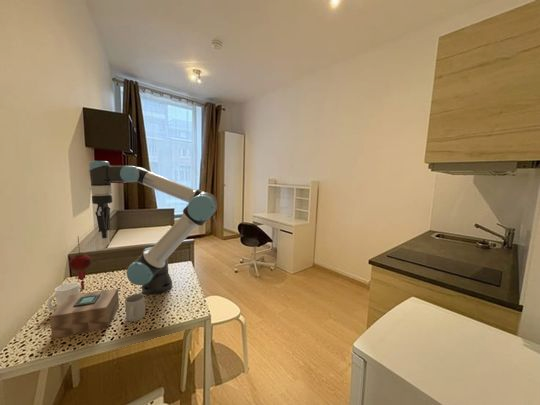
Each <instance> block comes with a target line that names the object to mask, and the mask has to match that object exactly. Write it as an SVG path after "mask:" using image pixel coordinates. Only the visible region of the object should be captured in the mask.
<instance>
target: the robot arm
mask: <svg viewBox="0 0 540 405" xmlns="http://www.w3.org/2000/svg"><path fill="white" fill-rule="evenodd" d="M88 165H89V170H88V171H89V178H90V188H89V190H90V192H91V195H92V196H91V199H92V200H91V203H92V204H94V205H97V207H96V211H95V216H96V221H97V226H98V232H100V237H101V246H102V245H103V246H106V245H110V244H111V242H110V240H111V239H110V231H111V229H112V228H111V207H110V206H109V204H112V203H113V196H112V193H113V192H112V190H113V189H112V183H139V184H140V185H143V186H146V187H147V188H148V187H149V188H151V189H154V190H155V191H159V192H160V193H163V194H166V195H169V196H171V197H173V198H175V199H177V200H181V201H184V202H186V203H188V204H187V205H186V207H184V208H183V209H182V215H181V216H180V218H179V219H177V221H176V222H175V223H174V224H173V225H172V226H171V227H170V228H169V230H167V231H166V232H165V234H164V235H163V236H162V237H161V238H160V239H159V240H158V241H157V242H156V243H155V244H154V246H150V247H146V248H143V252H142V253H141V255H140V256H138V258H136V259H135V261H134V262H131V263H130V264H129V266H128V267H127V269H126V277H127V280H128V281H129V282H130V283H132V284H133V285H136V286H141V292H142V294H143V295H149V296H150V295H151V296H152V295H158V294H161V293H165V292H167V291H169V290H170V289H171V288H172V287H173V279H172V278H171V275H170V273H169V257H170V256H171V255H172V254H173V252H174V251H175V250H176V249H178V247H179V246H180V245H181V244H182V243H183V242H184V241H185V240H186V239H187V238H188V236H190V234H191V233H192V232H193V231H195V229H197V227H202V226H203V225H204V224H205V223H206V222H207V221H208V220H209V219H210V218H211V217H212V216H213V215H214V214H215V213H216V212H217V210H218V208H219V200H218V198H217V196H215V195H214V194H212V193H210V192H206V191H203V190H201V189H197V188H196V189H193V188H191V187H188V186H186V185H183V184H181V183H179V182H176V181H174V180H171V179H169V178H166V177H164V176H162V175H159V174H156V173H155V172H152V171H149V170H147V169H146V168H144V167H141V166H134V165H111V164H110V162H109V161H107V160H91V161H90V162H89V164H88Z"/></svg>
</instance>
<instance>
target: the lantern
mask: <svg viewBox="0 0 540 405" xmlns="http://www.w3.org/2000/svg"><path fill="white" fill-rule="evenodd" d="M79 240H80V239H79V237H77V243H78V244H77V245H80V241H79ZM80 250H81V249H80V248H78V252H77V253H75V255H74V256H72V257H71V259H70V260H69V262H68V266H69V268H70V269H71V270H73V271H76V273H77V280H80V288H81V290H85V282H84V279H86V269H87V268H89V267H90V266H91V264H92V261H93V260H92V258H91V256H90V255H88V254H85V253H84V252H81V251H80Z"/></svg>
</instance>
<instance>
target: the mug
mask: <svg viewBox="0 0 540 405" xmlns="http://www.w3.org/2000/svg"><path fill="white" fill-rule="evenodd" d="M54 290H55V291H54V294H51V296H49V298H48V300H47V302H46V307H47V309H48V310H50V311H55V310H56V309H57V308H58V307H59V306H60V305H61V304H62V303H63V302H64V301H65V300H66V299H67V298H68V297H69V296H70V295H76V294H81V292H80V283H79V282H73V281H72V282H67V283H63V284H61V285H59V286H57V287H55V289H54ZM54 299H55V301H56V302H55V303H56V306H52V302H53V300H54Z"/></svg>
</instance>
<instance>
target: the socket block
mask: <svg viewBox="0 0 540 405" xmlns="http://www.w3.org/2000/svg"><path fill="white" fill-rule="evenodd" d="M88 297H95V299H94V300H93V301H92V302H86V303H80V302H81V301H82V299H83V298H88ZM119 302H120V301H119V289H118V288H112V289H107V290H106V289H105V290H98V291H93V292H91V291H90V292H86V293H80V294H76V295H70V296H69V297H68V298H67V299H66V300H65V301H64V302H63V303H62V304H61V305H60V306H59V307H58V308H57V309H56V310H53V313H51V314H50V315H49V323H50V332H51V339H57V338H61V337H66V336H72V335H78V334H83V333H88V332H94V331H99V330H103V329H104V330H105V329H108V328H109V327H110V325H111V323H112V321H113V320H114V318H115V315H116V313H117V311H118V309H119V308H120V304H119ZM79 303H80V304H79Z"/></svg>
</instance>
